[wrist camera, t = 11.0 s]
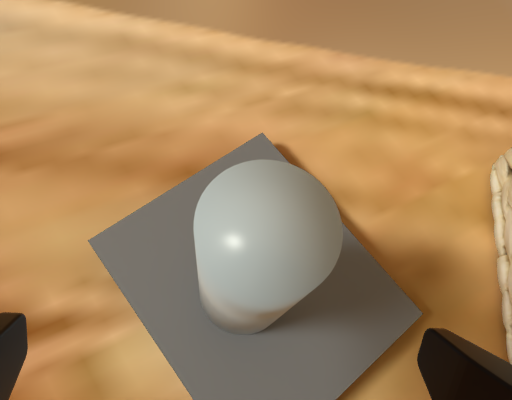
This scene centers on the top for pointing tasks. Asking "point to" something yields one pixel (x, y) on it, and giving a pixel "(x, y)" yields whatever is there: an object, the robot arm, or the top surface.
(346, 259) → the shelf board
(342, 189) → the top surface
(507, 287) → the storage basket
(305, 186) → the white dome-topped cylinder
